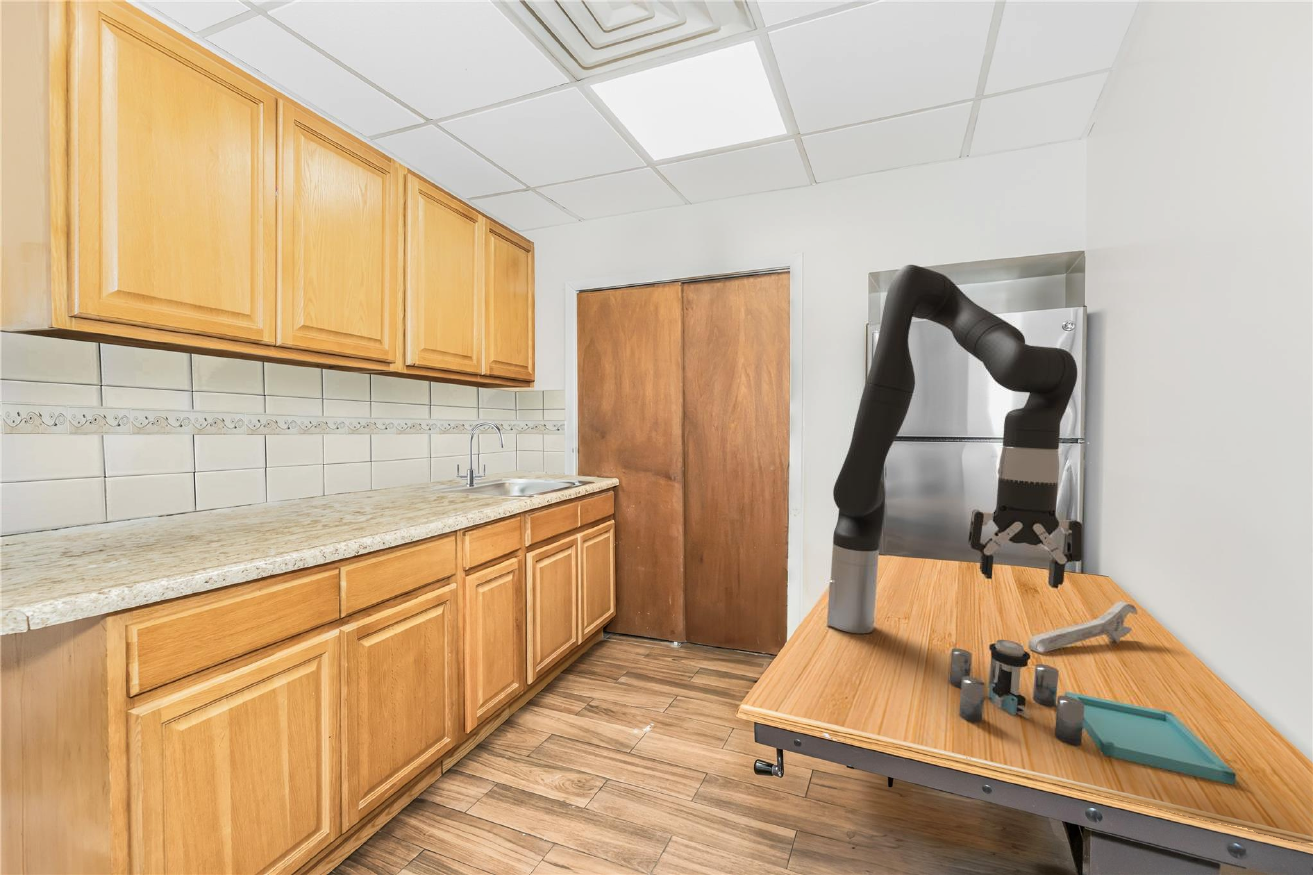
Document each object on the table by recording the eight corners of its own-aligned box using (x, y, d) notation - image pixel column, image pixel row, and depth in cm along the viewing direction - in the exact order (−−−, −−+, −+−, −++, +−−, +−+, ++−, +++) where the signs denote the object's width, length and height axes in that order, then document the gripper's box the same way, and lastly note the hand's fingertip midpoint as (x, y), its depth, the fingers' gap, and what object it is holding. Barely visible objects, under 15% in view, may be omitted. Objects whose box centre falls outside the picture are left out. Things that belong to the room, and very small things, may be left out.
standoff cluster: (960, 719, 79) (963, 683, 78) (947, 675, 93) (949, 644, 92) (1084, 748, 73) (1088, 709, 73) (1050, 696, 87) (1053, 663, 87)
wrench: (1027, 664, 106) (1128, 634, 115) (1036, 668, 104) (1138, 638, 114) (1027, 625, 106) (1128, 598, 115) (1036, 628, 104) (1138, 601, 113)
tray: (1102, 754, 72) (1103, 743, 72) (1064, 700, 86) (1065, 691, 86) (1234, 785, 67) (1235, 773, 67) (1170, 722, 81) (1171, 712, 81)
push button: (1042, 720, 80) (1047, 655, 79) (1013, 722, 79) (1018, 656, 78) (1004, 696, 86) (1009, 636, 86) (976, 698, 85) (981, 637, 85)
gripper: (978, 475, 80) (971, 581, 81) (1094, 484, 75) (1085, 597, 76) (969, 471, 87) (963, 569, 88) (1075, 479, 82) (1067, 582, 83)
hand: (1019, 582), depth 82 cm, fingers open, 8 cm apart
